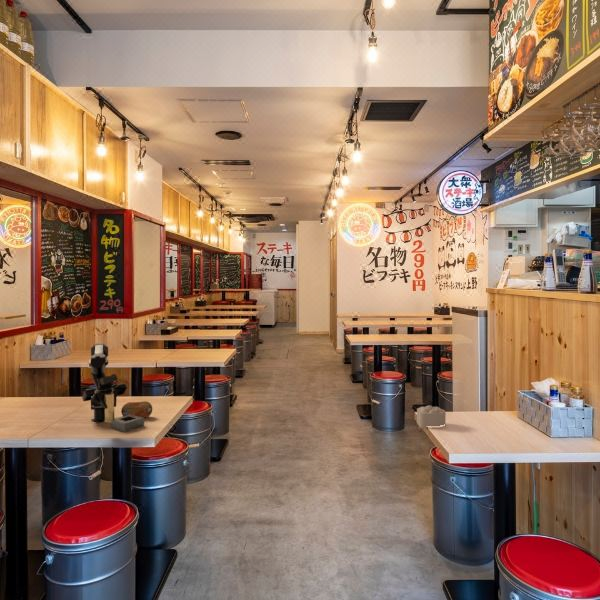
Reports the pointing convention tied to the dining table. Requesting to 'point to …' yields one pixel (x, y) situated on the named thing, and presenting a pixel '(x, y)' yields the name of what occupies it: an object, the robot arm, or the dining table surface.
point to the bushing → (109, 408)
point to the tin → (137, 409)
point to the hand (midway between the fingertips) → (110, 407)
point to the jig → (127, 423)
